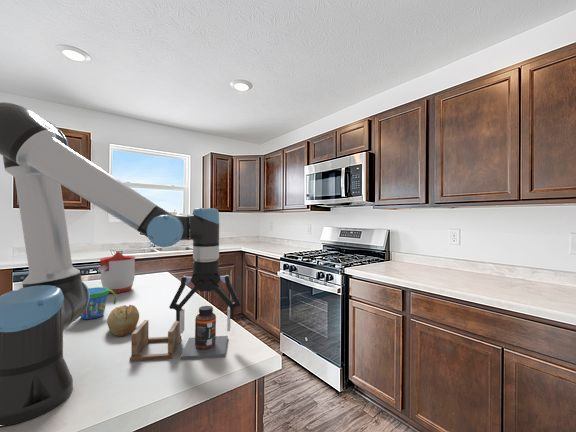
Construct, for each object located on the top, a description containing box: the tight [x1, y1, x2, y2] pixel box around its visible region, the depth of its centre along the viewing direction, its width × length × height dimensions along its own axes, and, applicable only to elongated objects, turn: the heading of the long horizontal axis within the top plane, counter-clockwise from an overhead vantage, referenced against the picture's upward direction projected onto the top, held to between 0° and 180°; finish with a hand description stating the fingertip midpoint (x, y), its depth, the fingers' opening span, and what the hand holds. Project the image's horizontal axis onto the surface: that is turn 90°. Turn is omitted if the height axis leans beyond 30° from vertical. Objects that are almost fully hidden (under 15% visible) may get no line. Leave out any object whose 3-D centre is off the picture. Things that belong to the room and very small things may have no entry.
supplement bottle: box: [194, 305, 217, 349], centre depth 86 cm, size 6×6×11 cm
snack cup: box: [79, 286, 117, 320], centre depth 111 cm, size 16×10×10 cm
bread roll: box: [106, 304, 140, 337], centre depth 99 cm, size 10×15×8 cm, turn 33°
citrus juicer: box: [97, 251, 136, 295], centre depth 146 cm, size 16×17×20 cm
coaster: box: [179, 335, 228, 360], centre depth 86 cm, size 12×12×1 cm
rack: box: [129, 319, 182, 362], centre depth 85 cm, size 12×11×7 cm
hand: (205, 330), depth 86 cm, fingers open, 13 cm apart
